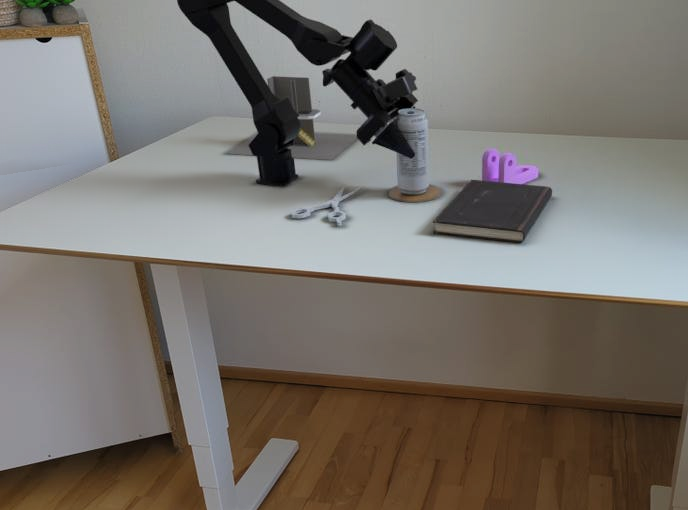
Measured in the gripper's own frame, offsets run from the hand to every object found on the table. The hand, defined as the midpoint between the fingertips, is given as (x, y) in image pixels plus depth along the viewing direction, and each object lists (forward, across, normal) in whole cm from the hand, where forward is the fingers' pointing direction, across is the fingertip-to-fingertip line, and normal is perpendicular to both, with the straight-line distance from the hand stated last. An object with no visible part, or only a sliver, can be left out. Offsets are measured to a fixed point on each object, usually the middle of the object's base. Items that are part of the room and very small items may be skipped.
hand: (419, 152), depth 150 cm
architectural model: (-21, +25, +34) cm, 47 cm away
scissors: (-4, -10, +15) cm, 19 cm away
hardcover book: (+18, -7, -6) cm, 20 cm away
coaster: (+5, 0, +7) cm, 8 cm away
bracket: (+17, +13, -5) cm, 22 cm away
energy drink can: (+4, 0, +6) cm, 8 cm away
